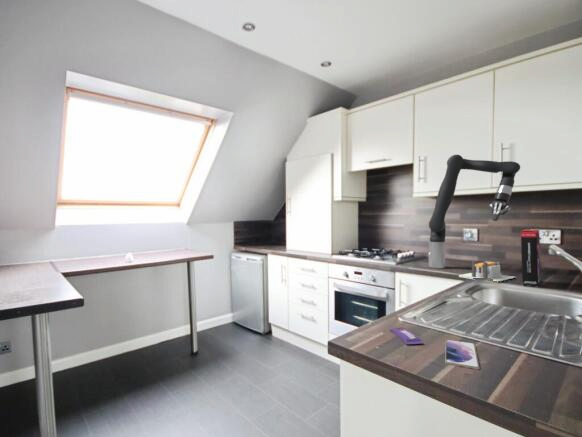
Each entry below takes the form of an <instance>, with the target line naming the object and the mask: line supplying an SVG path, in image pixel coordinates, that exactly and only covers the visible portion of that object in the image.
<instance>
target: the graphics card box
mask: <svg viewBox="0 0 582 437" xmlns="http://www.w3.org/2000/svg"><path fill="white" fill-rule="evenodd" d="M540 242H541V240H540V230H539V229H529V228H527V229H525V228H524V229H523V230H520V248H521V249H520V250H521V274H522V275H521V285H522V284H523V285H531V286H530V287H532V286H538V287H539V286H540V284H541V280H542V279H541V278H542V276H541V274H542V273H541V243H540ZM523 285H522V286H523Z"/></svg>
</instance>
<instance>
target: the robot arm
mask: <svg viewBox="0 0 582 437" xmlns="http://www.w3.org/2000/svg"><path fill="white" fill-rule="evenodd" d="M446 166H447V167H446V172H445V175H444V178H443V180H442V182H441V184H440V187H439V189H438V193H437V196H436V201H435V204H434V210H433V213H432V215H431V217H430V220H429V221H428V227H429V229H430V236H429V252H428V267H429V268H432V269H445V268H446V243H445V242H446V221H445V218H446V214H447V212H448V209H449V208H450V206H451V203H452V202H453V199H454V197H455V196H454V195H455V192H456V186H457V184H458V177H459V174H460V173H461V170H467V171H468V170H469V171H470V170H471V171H477V172H478V171H479V172H485V173H492V174H493V173H494V174H499V173H502V174H501V179H500V181H499V184H498V187H497V189H496V192H495V195H494V198H493V201H492V203H491V204H487V208H488V210H489V212H490V213H491V214H492V218H491V220H492V221H494V222H497V221H498V220H499V218H500V216H505V214H506V213H508V212H509V211H511V210H512V208H511V207H510V206H509V201H510V200H511V195H512V194H513V187H514V185H515V178H516V174H517V173H518V172H519V171H520V170H521V165H520V163H518V162H516V161H511V160H510V161H507V160H506V161H497V160H494V161H493V160H484V159H483V160H479V159H477V160H475V159H466V158H464V157H462V155H460V154H453V155H451V156H450V157H449V158H448V159H447V161H446Z"/></svg>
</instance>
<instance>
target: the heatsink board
mask: <svg viewBox="0 0 582 437" xmlns="http://www.w3.org/2000/svg"><path fill="white" fill-rule="evenodd" d="M487 262H490V261H489V260H485V261H484V262H482V263H483V267H477V266H475V264H477V261H474V260H472V261H471V272H469V273H467V272H466V273H463V274H459V275H458V277H459V278H464V279H470V280H474V279H473V278H491V279H493V281H497V282H498V281H503V280H508V279H513V278H516V279H517V277H516V276H512V275H506V274H505V275H504V274H502V273H501V262H500V261H495V262H496V265H492V266H487ZM513 280H514V279H513ZM508 281H509V280H508Z"/></svg>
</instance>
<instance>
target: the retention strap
mask: <svg viewBox="0 0 582 437" xmlns="http://www.w3.org/2000/svg"><path fill="white" fill-rule="evenodd" d="M496 262H497V261H489V262H487V266H492V265H496ZM483 263H484V262H477V263H476V264H475V266H477V267H483Z"/></svg>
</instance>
